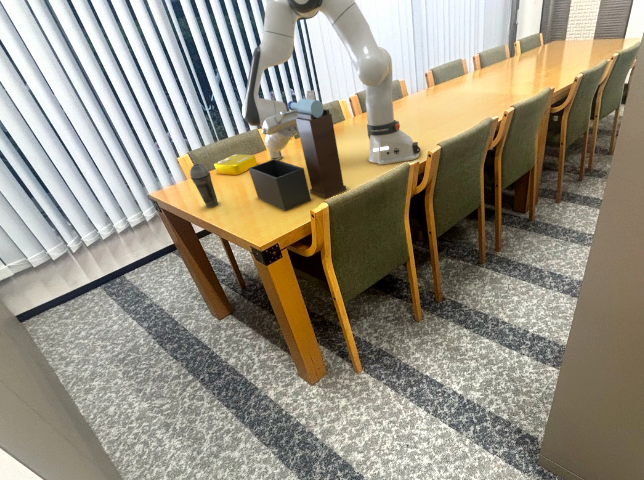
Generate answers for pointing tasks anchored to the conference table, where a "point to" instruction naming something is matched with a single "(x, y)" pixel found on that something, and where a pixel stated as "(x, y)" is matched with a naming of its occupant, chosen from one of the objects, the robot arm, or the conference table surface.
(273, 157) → the energy drink
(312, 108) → the bottle
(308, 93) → the network device
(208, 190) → the beverage cup
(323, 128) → the bottle stand
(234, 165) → the element tile
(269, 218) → the conference table surface
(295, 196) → the waste bin
